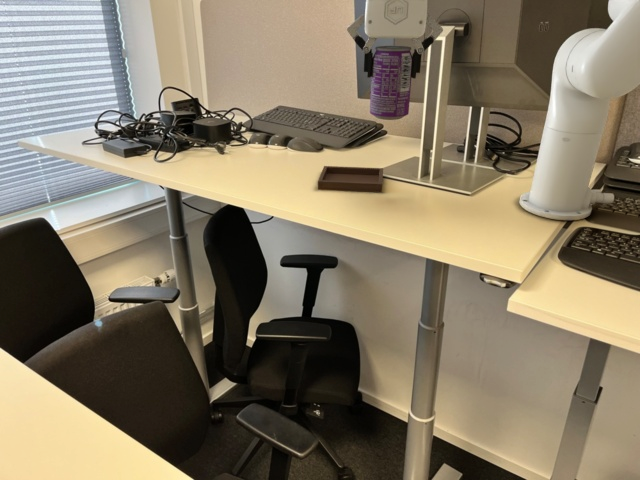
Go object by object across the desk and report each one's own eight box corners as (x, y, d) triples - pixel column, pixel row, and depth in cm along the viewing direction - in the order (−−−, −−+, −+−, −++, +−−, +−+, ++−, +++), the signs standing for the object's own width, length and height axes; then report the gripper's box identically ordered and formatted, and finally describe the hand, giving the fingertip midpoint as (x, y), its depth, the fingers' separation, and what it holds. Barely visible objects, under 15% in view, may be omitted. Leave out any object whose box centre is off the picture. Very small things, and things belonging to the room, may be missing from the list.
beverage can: (406, 113, 89) (411, 45, 84) (409, 121, 83) (416, 49, 78) (369, 112, 90) (372, 45, 84) (369, 121, 84) (373, 49, 78)
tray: (382, 176, 107) (383, 168, 106) (381, 192, 98) (382, 183, 97) (324, 173, 109) (324, 165, 108) (317, 189, 100) (317, 181, 99)
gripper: (343, -40, 73) (341, 79, 81) (457, -41, 71) (443, 81, 79) (346, -37, 79) (344, 73, 87) (451, -38, 77) (438, 74, 86)
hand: (391, 76), depth 83 cm, fingers closed on beverage can, 7 cm apart
